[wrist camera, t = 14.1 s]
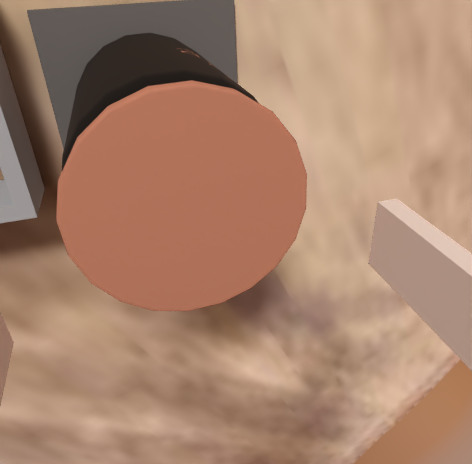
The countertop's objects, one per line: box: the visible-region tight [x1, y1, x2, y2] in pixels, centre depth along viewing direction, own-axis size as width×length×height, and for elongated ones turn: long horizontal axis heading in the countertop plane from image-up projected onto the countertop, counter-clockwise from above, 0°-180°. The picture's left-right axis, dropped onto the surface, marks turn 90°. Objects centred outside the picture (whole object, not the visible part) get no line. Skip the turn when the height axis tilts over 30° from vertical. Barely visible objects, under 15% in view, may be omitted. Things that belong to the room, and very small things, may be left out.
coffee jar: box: [56, 33, 307, 311], centre depth 25 cm, size 11×11×18 cm
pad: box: [27, 0, 237, 148], centre depth 33 cm, size 14×14×1 cm
